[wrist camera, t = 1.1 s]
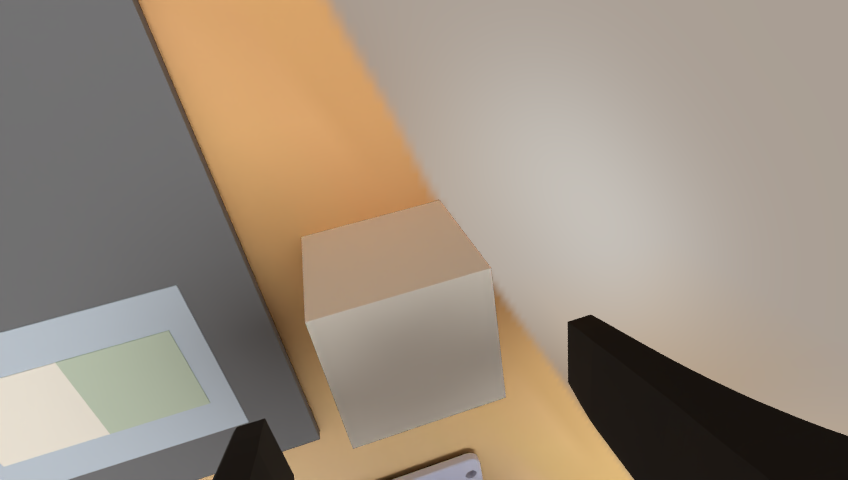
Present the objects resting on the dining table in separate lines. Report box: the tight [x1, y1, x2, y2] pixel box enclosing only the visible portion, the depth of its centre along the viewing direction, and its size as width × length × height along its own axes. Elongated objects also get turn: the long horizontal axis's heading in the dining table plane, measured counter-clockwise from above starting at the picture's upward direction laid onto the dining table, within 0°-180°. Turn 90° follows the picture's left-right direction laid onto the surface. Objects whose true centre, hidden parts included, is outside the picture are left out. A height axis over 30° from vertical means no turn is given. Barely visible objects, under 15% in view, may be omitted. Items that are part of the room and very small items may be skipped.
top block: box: [301, 199, 506, 449], centre depth 14 cm, size 4×4×4 cm
